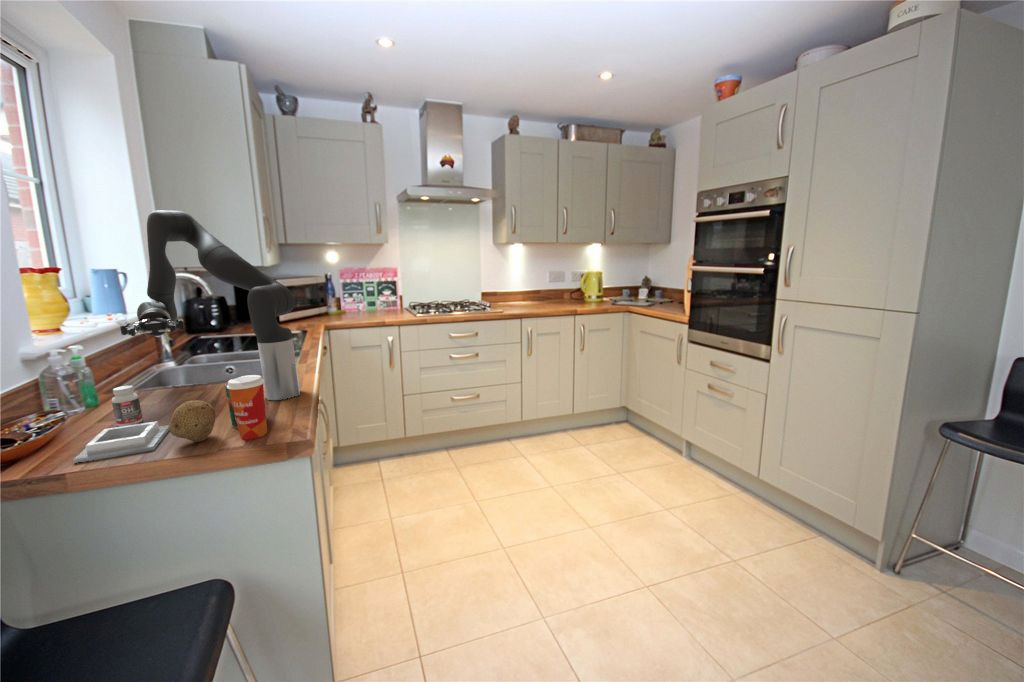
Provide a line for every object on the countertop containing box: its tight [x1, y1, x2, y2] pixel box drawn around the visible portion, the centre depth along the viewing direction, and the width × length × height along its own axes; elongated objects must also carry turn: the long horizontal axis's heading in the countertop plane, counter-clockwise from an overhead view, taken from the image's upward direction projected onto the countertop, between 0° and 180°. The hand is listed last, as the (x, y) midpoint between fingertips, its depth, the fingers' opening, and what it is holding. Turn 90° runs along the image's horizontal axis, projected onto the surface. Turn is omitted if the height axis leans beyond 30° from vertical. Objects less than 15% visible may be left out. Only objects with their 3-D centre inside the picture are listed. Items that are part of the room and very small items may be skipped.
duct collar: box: [72, 420, 170, 464], centre depth 107 cm, size 14×14×3 cm
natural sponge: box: [168, 399, 217, 443], centre depth 106 cm, size 9×9×10 cm
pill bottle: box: [111, 385, 144, 427], centre depth 120 cm, size 5×5×10 cm
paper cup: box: [227, 374, 268, 441], centre depth 109 cm, size 8×8×14 cm
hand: (152, 330), depth 126 cm, fingers open, 8 cm apart
